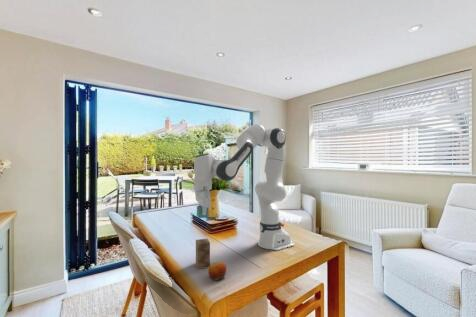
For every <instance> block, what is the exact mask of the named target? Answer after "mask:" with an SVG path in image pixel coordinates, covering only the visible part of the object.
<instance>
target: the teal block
mask: <svg viewBox="0 0 476 317" xmlns="http://www.w3.org/2000/svg"><path fill="white" fill-rule="evenodd" d="M209 210H210V208H207V210H206V215H202V206H199V205H196V217H197V218H198V219H203V218H209V215H210V214H209Z"/></svg>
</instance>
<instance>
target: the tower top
mask: <svg viewBox="0 0 476 317" xmlns="http://www.w3.org/2000/svg"><path fill="white" fill-rule="evenodd" d="M196 253H197V256H205V255H210V256H211V242H210V241H209V239H208V238H201V239H195V254H196Z"/></svg>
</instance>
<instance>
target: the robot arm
mask: <svg viewBox="0 0 476 317" xmlns="http://www.w3.org/2000/svg"><path fill="white" fill-rule="evenodd" d="M286 139H287V138H286V132H285V130H284V129H282V128H279V127H271V128H270V127H269V128H264V126H263V124H260V123H254V124H252V125H250V126H249V127H247V128H246V129H245V130H244V131H242V132H241V133H240V135H239V136H238V137H237V139H236V147H237V148H238V150H237V151H236V152H235V153H234V154H233V156H231V157H230V158H229V159H225V160H224V159H223V160H220V159H219V158H216V157H214V156H213V155H211V153H201V154H198V155H196V156H195V159H194V163H193V174H194V178H193V190H194V191H195V200H196V202H197V203H198V206H202V215H206V210H207V208H209V209H210V208H211V206H212V202H211V192H210V191H211V190H212V186H213V183H212V182H213V181H212V180H213V178H214V179H218V180H221V181H225V182H230V181H232V180H234V179H235V178H236V176H237V174H238V173H239V170H240V169H241V168H240V167H242V166H243V164H244V163H245V162H246V160H247V159H248V158H249V157H250V155H251V154H252V153H253V151H254V149H255V148H256V147H257V146H259V147H266V148H267V155H266V160H265V165H264V173H265V178H266V180H262V181H258V182H257V183H256V184H255V187H254V190H255V193H256V195H257V199H258V204H259V209H260V221H259V239H258V242H257V245H258V247H260V248H261V249H262V248H263V249H266V250H272V251H280V250H284V249H288V248H291V246H292V247H294V246H295V242H294V241H292V239H291V235H290V233H289V232H287V231H286V230H285V229H283V228H284V227H285V223H283V222H280V221H279V217H280V216H279V214H280V212H279V208H278V206H277V203H276V202H281V201H283V200H285V198H286V196H287V190H286V187H285V185H284V182H283V171H284V164H285V157H286V147H285V144H286ZM282 227H283V228H282ZM287 247H288V248H287Z"/></svg>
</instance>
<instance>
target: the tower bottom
mask: <svg viewBox="0 0 476 317" xmlns="http://www.w3.org/2000/svg"><path fill="white" fill-rule="evenodd" d="M195 265H196V267H197V270H199V269H205V268H209V267H210V266H211V254H210V255H205V256H197V253H196V252H195Z"/></svg>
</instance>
